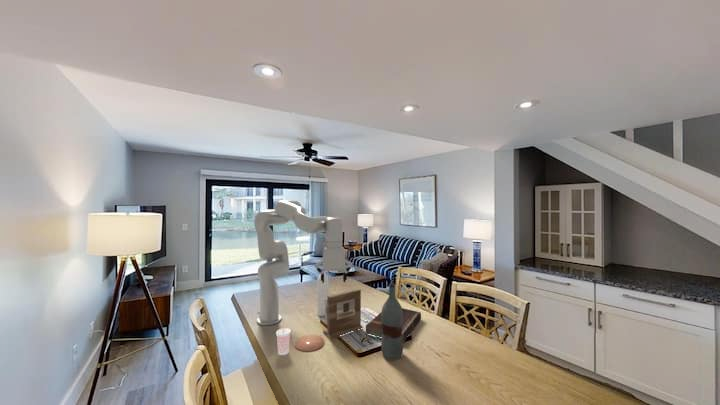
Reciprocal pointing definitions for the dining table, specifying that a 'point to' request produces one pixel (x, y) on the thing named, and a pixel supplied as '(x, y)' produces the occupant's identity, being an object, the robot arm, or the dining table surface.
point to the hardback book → (408, 324)
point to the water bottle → (322, 294)
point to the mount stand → (342, 313)
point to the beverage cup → (283, 340)
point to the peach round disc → (309, 343)
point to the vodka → (392, 327)
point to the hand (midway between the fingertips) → (333, 281)
